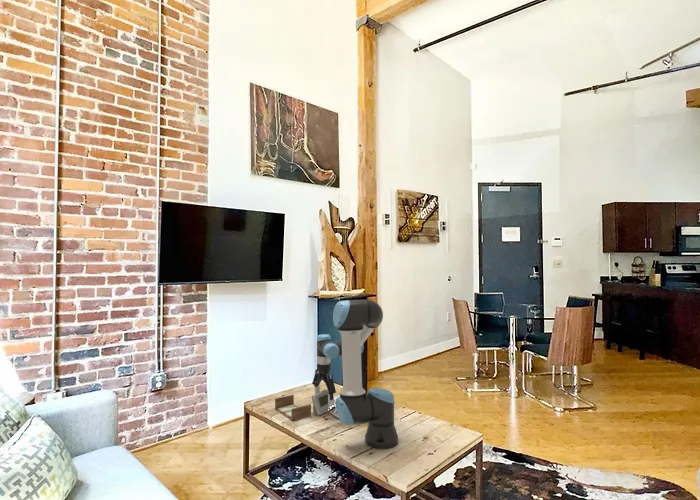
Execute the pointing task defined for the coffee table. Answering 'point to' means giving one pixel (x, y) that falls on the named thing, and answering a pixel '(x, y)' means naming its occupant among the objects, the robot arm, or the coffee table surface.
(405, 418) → the coffee table surface
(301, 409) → the cradle
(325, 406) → the digital clock
